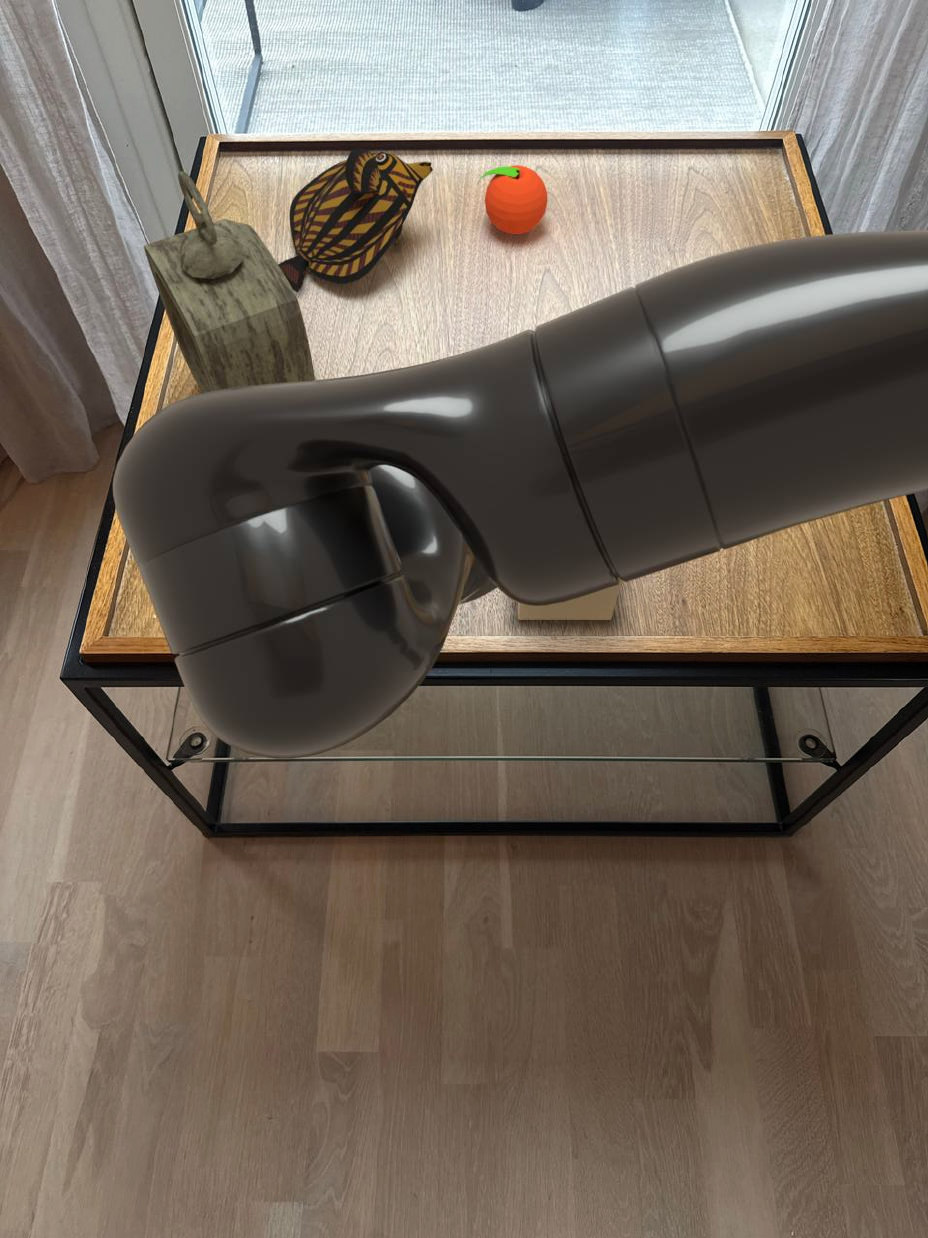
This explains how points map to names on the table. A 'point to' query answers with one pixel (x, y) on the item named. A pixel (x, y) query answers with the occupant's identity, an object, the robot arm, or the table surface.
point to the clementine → (515, 199)
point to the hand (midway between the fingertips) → (541, 489)
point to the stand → (575, 607)
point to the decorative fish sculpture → (351, 216)
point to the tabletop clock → (229, 303)
